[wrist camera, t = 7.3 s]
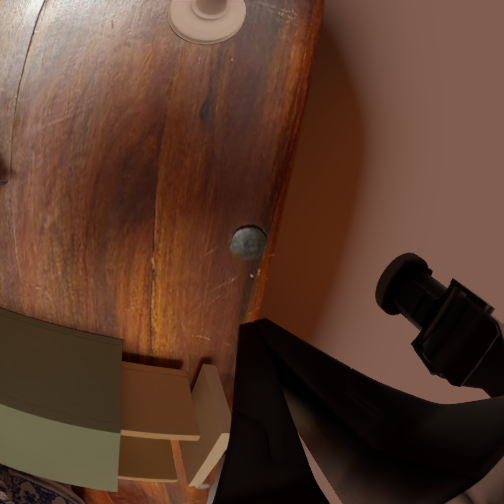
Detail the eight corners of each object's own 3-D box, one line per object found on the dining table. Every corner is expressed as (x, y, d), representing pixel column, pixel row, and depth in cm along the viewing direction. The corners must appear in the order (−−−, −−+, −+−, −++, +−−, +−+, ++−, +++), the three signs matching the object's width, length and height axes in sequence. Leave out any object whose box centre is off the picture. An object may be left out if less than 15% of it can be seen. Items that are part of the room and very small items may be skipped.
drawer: (259, 367, 26) (287, 429, 20) (222, 431, 29) (239, 483, 23) (60, 338, 19) (42, 411, 13) (67, 414, 22) (62, 473, 16)
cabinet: (122, 339, 22) (120, 434, 14) (114, 420, 25) (117, 492, 18) (-26, 298, 16) (-71, 370, 8) (-4, 389, 19) (-21, 454, 12)
